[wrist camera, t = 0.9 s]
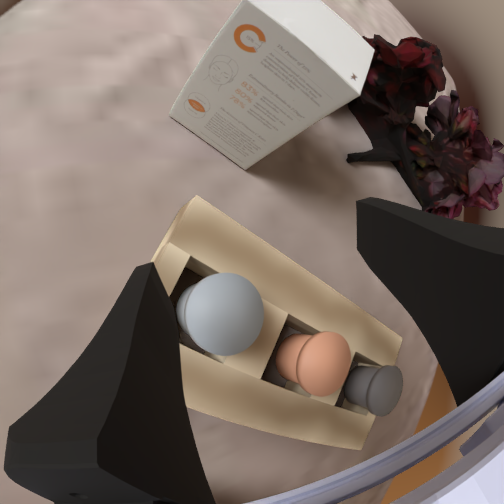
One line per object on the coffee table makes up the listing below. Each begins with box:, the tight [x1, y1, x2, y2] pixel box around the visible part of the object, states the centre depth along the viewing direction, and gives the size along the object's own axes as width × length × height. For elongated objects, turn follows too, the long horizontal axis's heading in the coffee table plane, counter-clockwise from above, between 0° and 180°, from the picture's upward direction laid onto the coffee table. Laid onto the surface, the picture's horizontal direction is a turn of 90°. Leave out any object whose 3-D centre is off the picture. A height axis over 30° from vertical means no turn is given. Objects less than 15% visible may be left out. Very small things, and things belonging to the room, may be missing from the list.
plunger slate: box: [176, 273, 264, 356], centre depth 18 cm, size 4×4×4 cm
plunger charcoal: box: [344, 365, 403, 416], centre depth 24 cm, size 4×4×4 cm
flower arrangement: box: [347, 34, 504, 219], centre depth 32 cm, size 31×20×15 cm, turn 66°
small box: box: [169, 0, 375, 170], centre depth 19 cm, size 8×6×13 cm
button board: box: [151, 195, 403, 450], centre depth 23 cm, size 12×24×4 cm, turn 63°
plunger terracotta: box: [276, 331, 351, 397], centre depth 21 cm, size 4×4×4 cm
